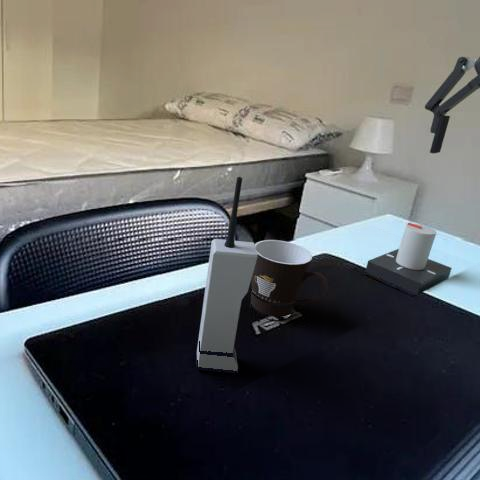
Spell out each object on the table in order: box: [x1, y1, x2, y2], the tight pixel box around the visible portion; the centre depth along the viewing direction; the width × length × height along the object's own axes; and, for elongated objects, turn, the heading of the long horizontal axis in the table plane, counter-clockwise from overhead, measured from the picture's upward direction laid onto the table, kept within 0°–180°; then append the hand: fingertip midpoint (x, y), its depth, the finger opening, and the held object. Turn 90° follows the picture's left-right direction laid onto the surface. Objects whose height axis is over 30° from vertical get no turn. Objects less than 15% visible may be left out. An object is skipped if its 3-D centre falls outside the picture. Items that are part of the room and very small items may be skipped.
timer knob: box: [396, 222, 437, 270], centre depth 90 cm, size 5×5×7 cm
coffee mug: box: [250, 239, 330, 316], centre depth 75 cm, size 12×9×10 cm
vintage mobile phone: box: [196, 176, 258, 372], centre depth 59 cm, size 4×5×25 cm
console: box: [364, 248, 453, 296], centre depth 92 cm, size 10×12×3 cm
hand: (475, 160), depth 86 cm, fingers open, 13 cm apart
